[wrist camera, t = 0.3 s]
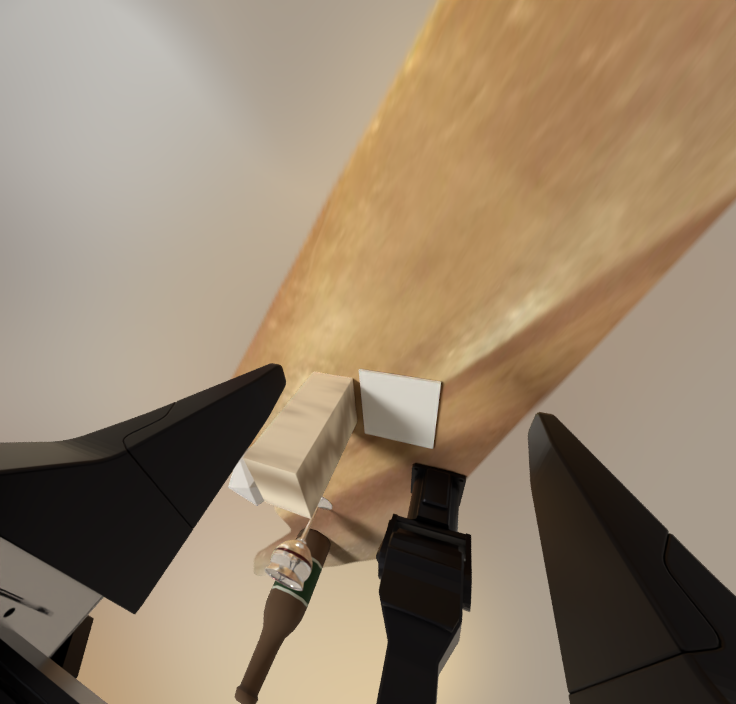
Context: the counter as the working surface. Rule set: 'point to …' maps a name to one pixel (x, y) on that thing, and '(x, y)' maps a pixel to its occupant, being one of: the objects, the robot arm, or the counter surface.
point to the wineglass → (294, 558)
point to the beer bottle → (281, 619)
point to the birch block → (304, 444)
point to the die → (245, 483)
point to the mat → (399, 407)
